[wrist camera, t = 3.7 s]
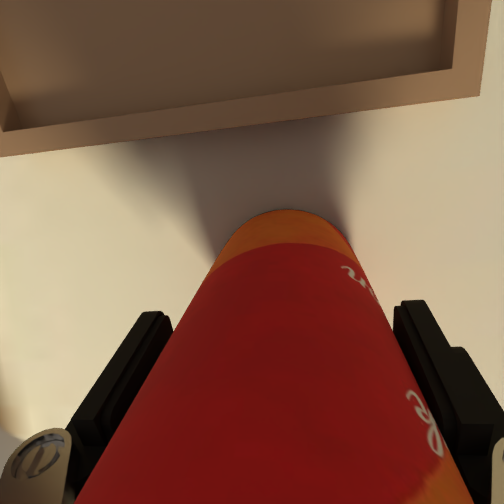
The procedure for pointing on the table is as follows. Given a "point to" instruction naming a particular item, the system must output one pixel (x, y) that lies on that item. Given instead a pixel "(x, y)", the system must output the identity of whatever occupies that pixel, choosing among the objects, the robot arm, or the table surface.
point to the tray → (222, 64)
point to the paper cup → (280, 389)
